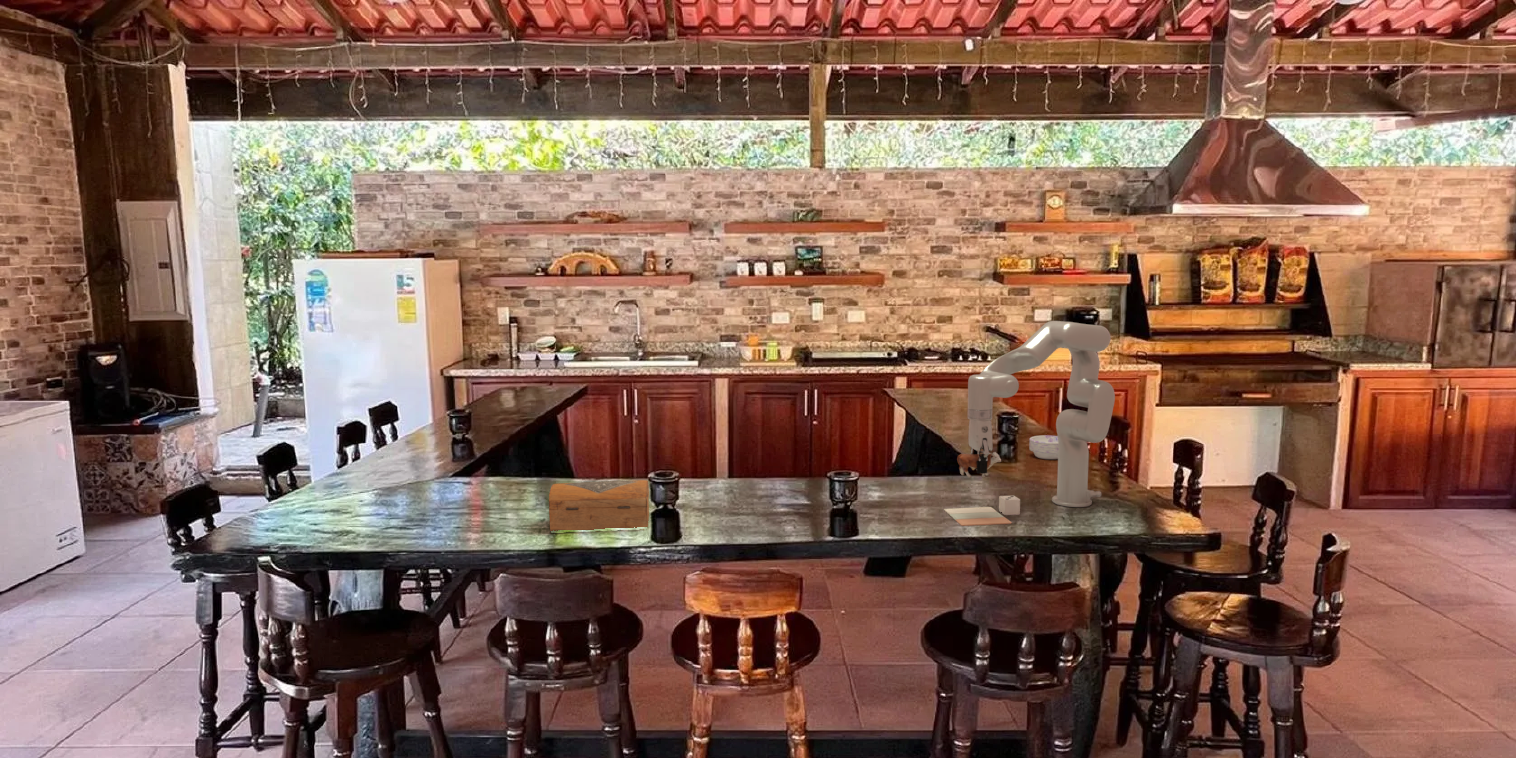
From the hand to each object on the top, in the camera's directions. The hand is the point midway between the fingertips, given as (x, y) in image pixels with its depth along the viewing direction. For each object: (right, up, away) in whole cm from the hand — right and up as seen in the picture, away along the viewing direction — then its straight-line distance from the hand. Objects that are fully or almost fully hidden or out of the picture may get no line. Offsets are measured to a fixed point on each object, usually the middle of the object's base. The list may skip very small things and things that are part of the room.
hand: (978, 470), depth 277 cm
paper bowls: (+50, -4, +86) cm, 100 cm away
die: (+12, -15, +7) cm, 20 cm away
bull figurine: (0, -2, 0) cm, 2 cm away
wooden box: (-119, -18, 0) cm, 120 cm away
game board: (0, -15, +3) cm, 15 cm away
